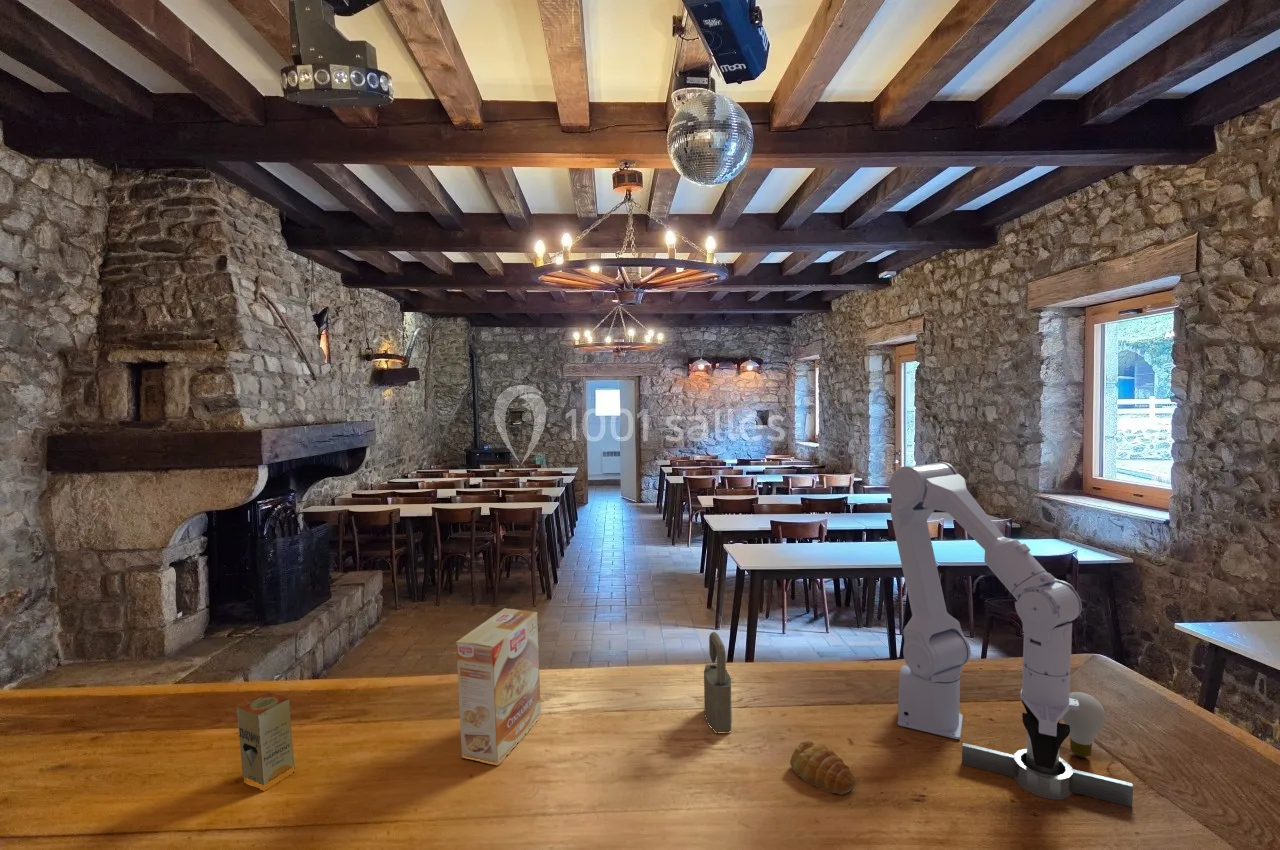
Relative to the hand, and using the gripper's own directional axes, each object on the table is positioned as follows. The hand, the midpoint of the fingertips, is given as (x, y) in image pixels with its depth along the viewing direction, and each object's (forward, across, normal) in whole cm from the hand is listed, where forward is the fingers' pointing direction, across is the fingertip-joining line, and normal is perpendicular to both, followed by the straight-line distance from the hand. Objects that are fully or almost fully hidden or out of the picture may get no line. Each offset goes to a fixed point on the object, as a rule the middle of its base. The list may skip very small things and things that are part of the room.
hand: (1043, 757), depth 93 cm
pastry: (+4, -12, +29) cm, 32 cm away
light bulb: (+4, +10, -5) cm, 12 cm away
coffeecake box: (+4, -27, +78) cm, 83 cm away
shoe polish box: (+4, -52, +103) cm, 115 cm away
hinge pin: (+2, 0, 0) cm, 3 cm away
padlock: (+4, -6, +48) cm, 49 cm away
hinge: (+4, 0, 0) cm, 4 cm away
